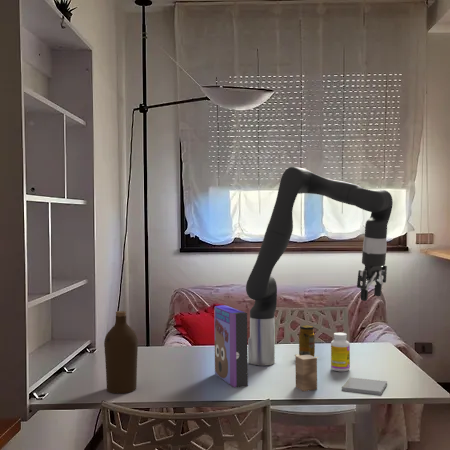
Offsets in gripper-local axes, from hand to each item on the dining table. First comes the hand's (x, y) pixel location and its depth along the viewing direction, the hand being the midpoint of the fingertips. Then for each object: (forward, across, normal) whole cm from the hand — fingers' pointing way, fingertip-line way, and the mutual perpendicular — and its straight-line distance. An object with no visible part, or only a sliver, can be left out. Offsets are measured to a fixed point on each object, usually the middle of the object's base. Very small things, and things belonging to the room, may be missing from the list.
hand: (370, 298), depth 190 cm
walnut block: (+27, +24, -6) cm, 37 cm away
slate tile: (+26, +11, +6) cm, 29 cm away
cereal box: (+30, +35, -30) cm, 55 cm away
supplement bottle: (+30, -2, -11) cm, 32 cm away
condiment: (+33, -8, -30) cm, 45 cm away
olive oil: (+30, +66, -48) cm, 87 cm away
